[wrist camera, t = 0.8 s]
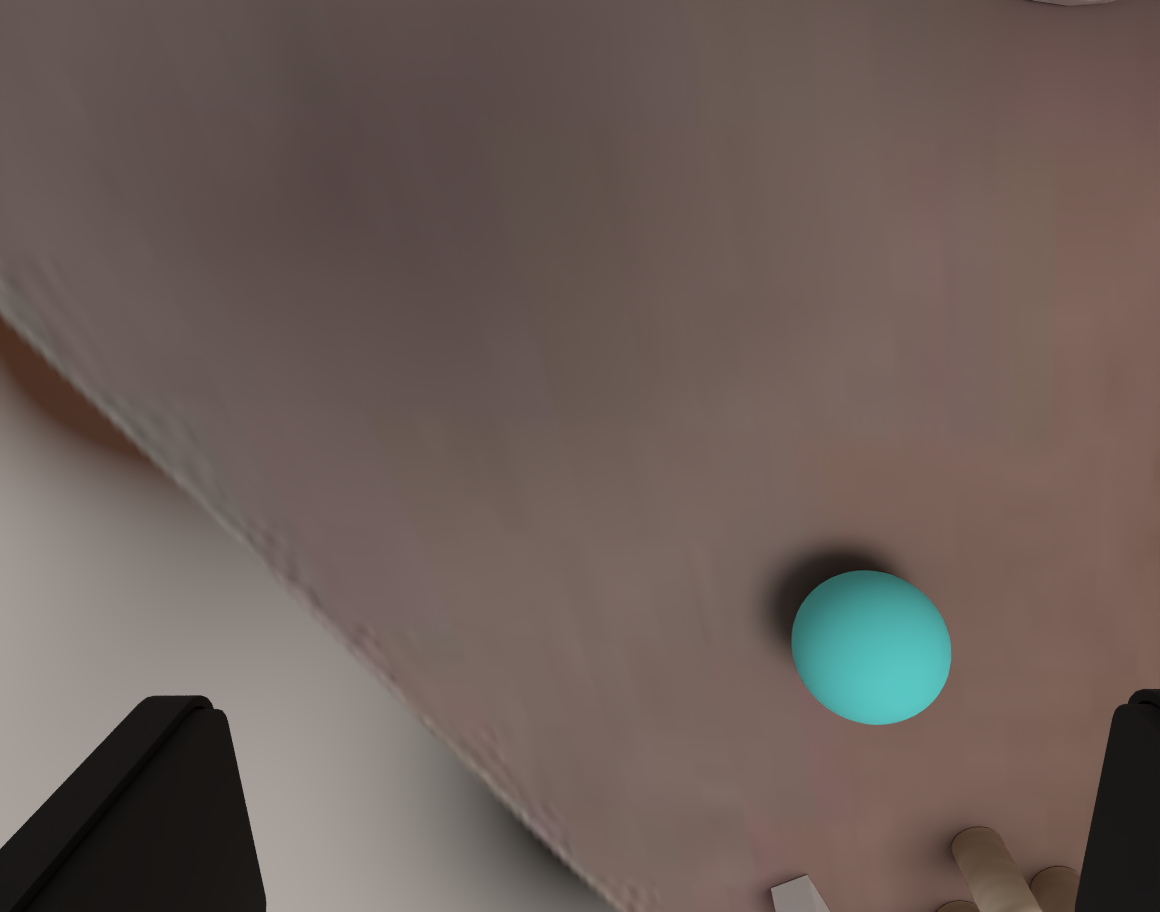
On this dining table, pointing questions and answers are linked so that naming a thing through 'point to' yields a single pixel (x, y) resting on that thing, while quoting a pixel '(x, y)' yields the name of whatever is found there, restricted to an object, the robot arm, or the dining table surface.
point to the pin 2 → (1056, 889)
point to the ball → (871, 647)
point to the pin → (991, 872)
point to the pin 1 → (959, 907)
